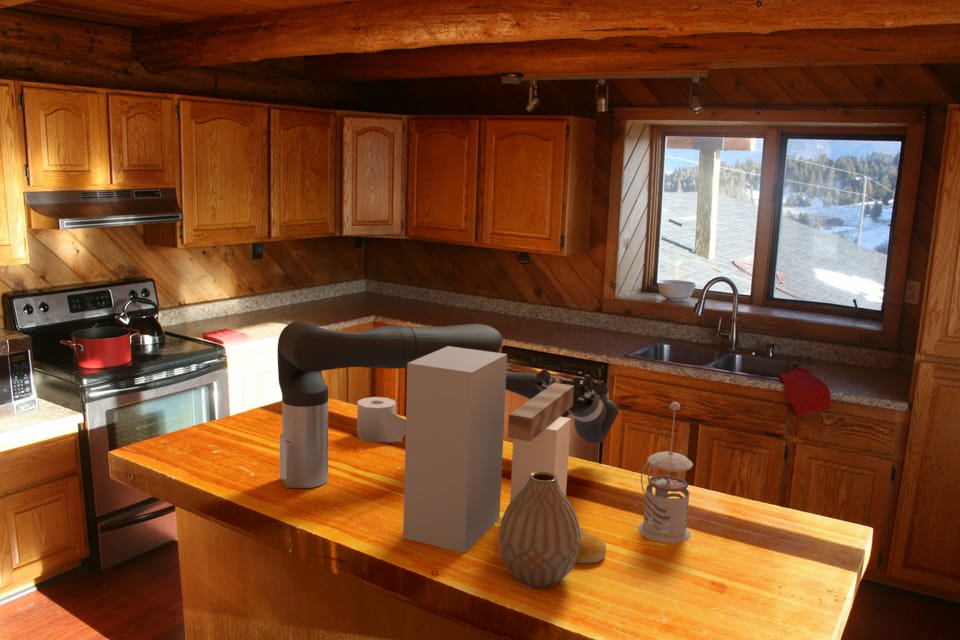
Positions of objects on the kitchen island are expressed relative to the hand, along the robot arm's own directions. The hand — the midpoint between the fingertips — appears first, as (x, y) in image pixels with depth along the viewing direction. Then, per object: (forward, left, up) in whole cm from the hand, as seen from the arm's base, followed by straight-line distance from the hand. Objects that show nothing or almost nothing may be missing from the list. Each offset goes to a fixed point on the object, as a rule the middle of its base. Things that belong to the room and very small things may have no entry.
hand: (564, 376), depth 155 cm
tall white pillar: (-23, -1, -27) cm, 35 cm away
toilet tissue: (-18, +52, -27) cm, 61 cm away
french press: (+13, -16, -27) cm, 34 cm away
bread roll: (-6, -18, -27) cm, 33 cm away
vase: (-18, -23, -27) cm, 39 cm away
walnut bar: (-9, -7, -6) cm, 13 cm away
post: (-9, -7, -27) cm, 29 cm away
